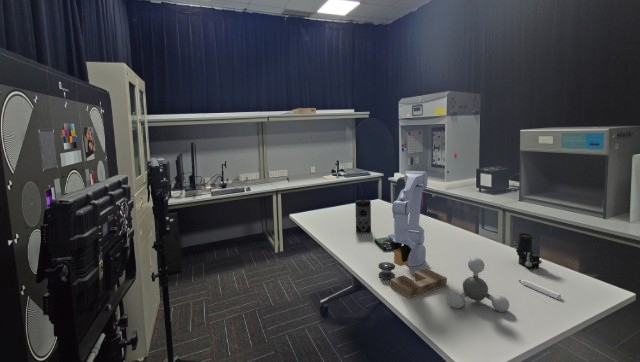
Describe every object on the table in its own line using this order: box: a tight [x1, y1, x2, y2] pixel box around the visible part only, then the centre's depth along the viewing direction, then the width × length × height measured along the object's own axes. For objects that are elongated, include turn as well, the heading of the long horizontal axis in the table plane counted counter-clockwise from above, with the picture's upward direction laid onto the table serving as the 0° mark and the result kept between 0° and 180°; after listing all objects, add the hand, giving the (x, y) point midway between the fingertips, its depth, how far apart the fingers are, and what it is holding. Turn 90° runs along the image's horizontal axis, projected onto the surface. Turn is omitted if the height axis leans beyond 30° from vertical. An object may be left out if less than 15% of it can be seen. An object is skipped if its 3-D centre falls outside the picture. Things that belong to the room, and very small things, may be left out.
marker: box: [518, 279, 562, 300], centre depth 127 cm, size 3×2×16 cm
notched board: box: [390, 268, 448, 299], centre depth 134 cm, size 20×11×3 cm, turn 117°
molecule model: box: [447, 257, 510, 313], centre depth 119 cm, size 20×16×20 cm
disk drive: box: [373, 236, 393, 252], centre depth 181 cm, size 10×3×15 cm
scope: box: [515, 232, 543, 271], centre depth 149 cm, size 8×14×10 cm
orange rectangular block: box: [393, 248, 408, 267], centre depth 140 cm, size 4×4×6 cm
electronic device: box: [355, 199, 372, 234], centre depth 204 cm, size 9×6×20 cm, turn 81°
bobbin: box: [378, 261, 396, 281], centre depth 143 cm, size 7×7×5 cm
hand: (401, 259), depth 140 cm, fingers closed on orange rectangular block, 4 cm apart
